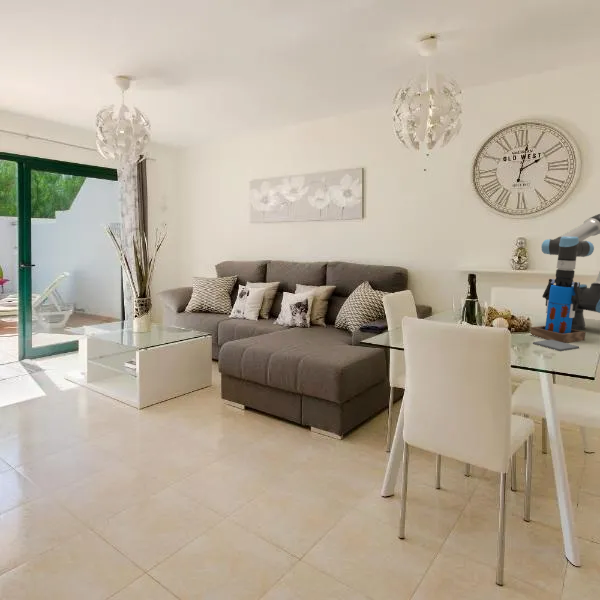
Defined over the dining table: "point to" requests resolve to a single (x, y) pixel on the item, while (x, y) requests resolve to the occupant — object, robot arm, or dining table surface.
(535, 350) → the dining table surface
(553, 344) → the mat
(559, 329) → the blue box
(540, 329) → the tray
